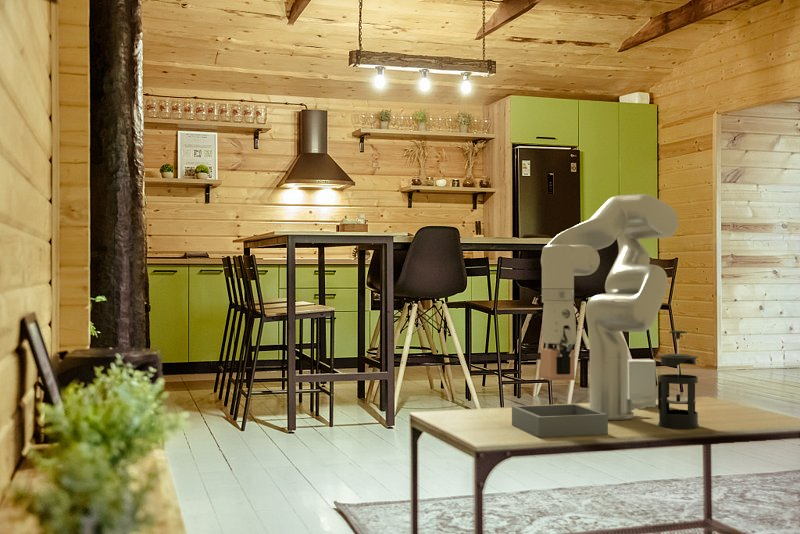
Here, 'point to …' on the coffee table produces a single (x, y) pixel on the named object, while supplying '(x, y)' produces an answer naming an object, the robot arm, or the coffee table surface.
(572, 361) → the small crate
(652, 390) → the supplement box
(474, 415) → the coffee table surface
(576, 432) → the grey square tray
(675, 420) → the french press
